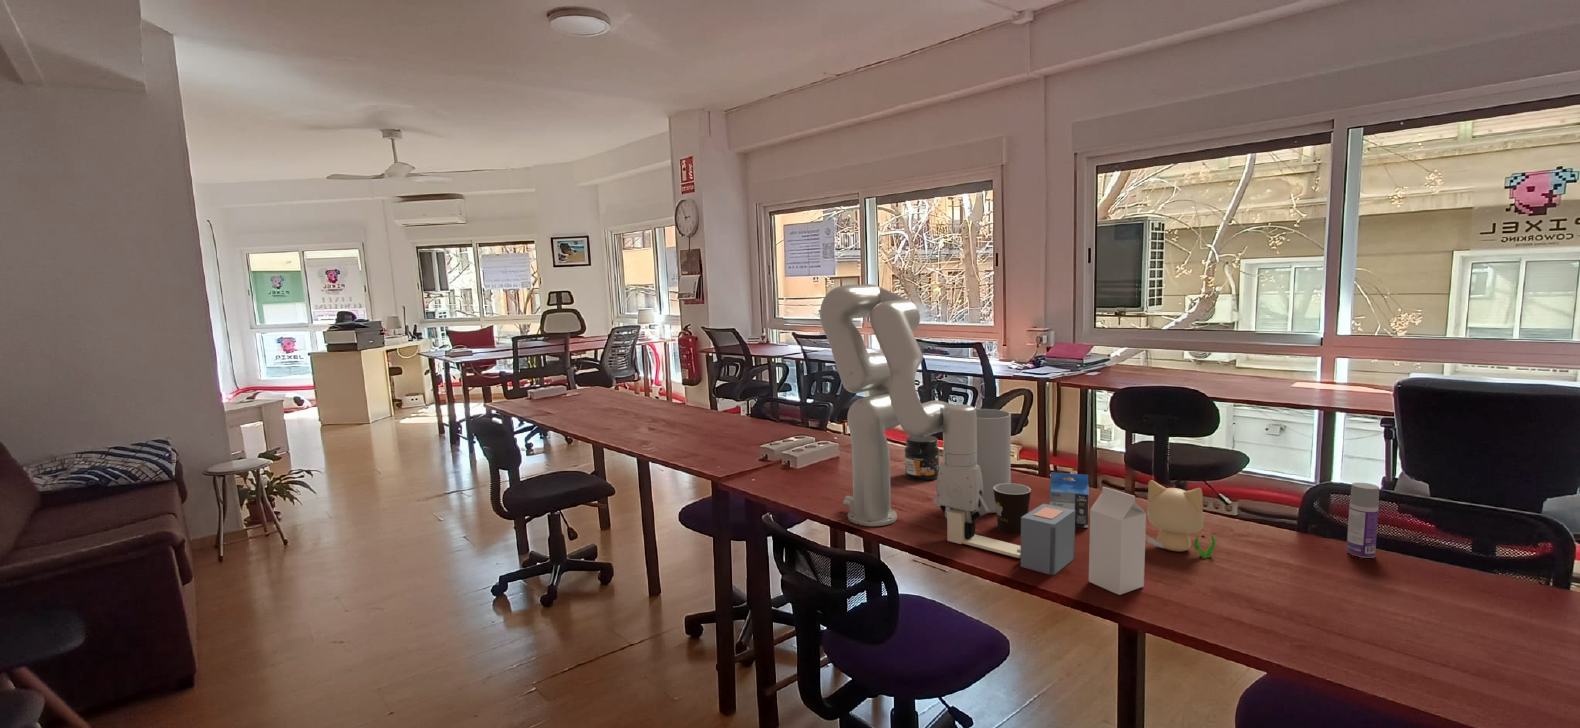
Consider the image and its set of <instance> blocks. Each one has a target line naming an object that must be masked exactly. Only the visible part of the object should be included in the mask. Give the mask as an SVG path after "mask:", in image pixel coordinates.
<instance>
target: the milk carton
mask: <svg viewBox="0 0 1580 728" xmlns="http://www.w3.org/2000/svg"><path fill="white" fill-rule="evenodd" d="M1101 491H1102V492H1101V493H1100V494H1099V496H1098V497H1097V498H1096V500H1095V502H1094V503H1093V505H1092V506H1091V507H1090V509H1089V541H1088V542H1089V549H1088V550H1089V551H1088V553H1089V554H1088V582H1089V583H1091V584H1093V585H1095V586H1097V587H1100V588H1102V589H1105V590H1107V591H1109V592H1111V593H1114V594H1116V595H1119V596H1121V595H1124V594H1126V593H1129V592H1131V591H1135V590H1138V589H1140V588H1143V587H1144V586H1145V565H1146V564H1145V561H1146V559H1145V558H1146V556H1145V555H1146V554H1145V553H1146V541H1145V534H1147V533H1146V530H1147V528H1146V527H1147V511H1145V510H1144V509H1143V508H1142V507H1141V506H1140V505H1139V504H1138V502H1136V496H1135V495H1132V494H1129V493H1126V492H1122V491H1120V490H1116V489H1113V488H1109V487H1105V486H1102V489H1101Z"/></svg>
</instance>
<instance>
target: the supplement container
mask: <svg viewBox="0 0 1580 728" xmlns="http://www.w3.org/2000/svg"><path fill="white" fill-rule="evenodd" d="M938 441H939V440H938V438H937V437H936V436H933V435H929V436H926V437H923V438H913V437H911V436H909V435H908V436H907V437H906V438H905V445H906V446H905V447H904V475H905V477H907V478H908V479H909V480H912V479H913V481H918V480H928V481H934V480H936V479H938V472H939V467H940V456H939V452H940V448H939V446H938V445H939V444H938Z"/></svg>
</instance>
